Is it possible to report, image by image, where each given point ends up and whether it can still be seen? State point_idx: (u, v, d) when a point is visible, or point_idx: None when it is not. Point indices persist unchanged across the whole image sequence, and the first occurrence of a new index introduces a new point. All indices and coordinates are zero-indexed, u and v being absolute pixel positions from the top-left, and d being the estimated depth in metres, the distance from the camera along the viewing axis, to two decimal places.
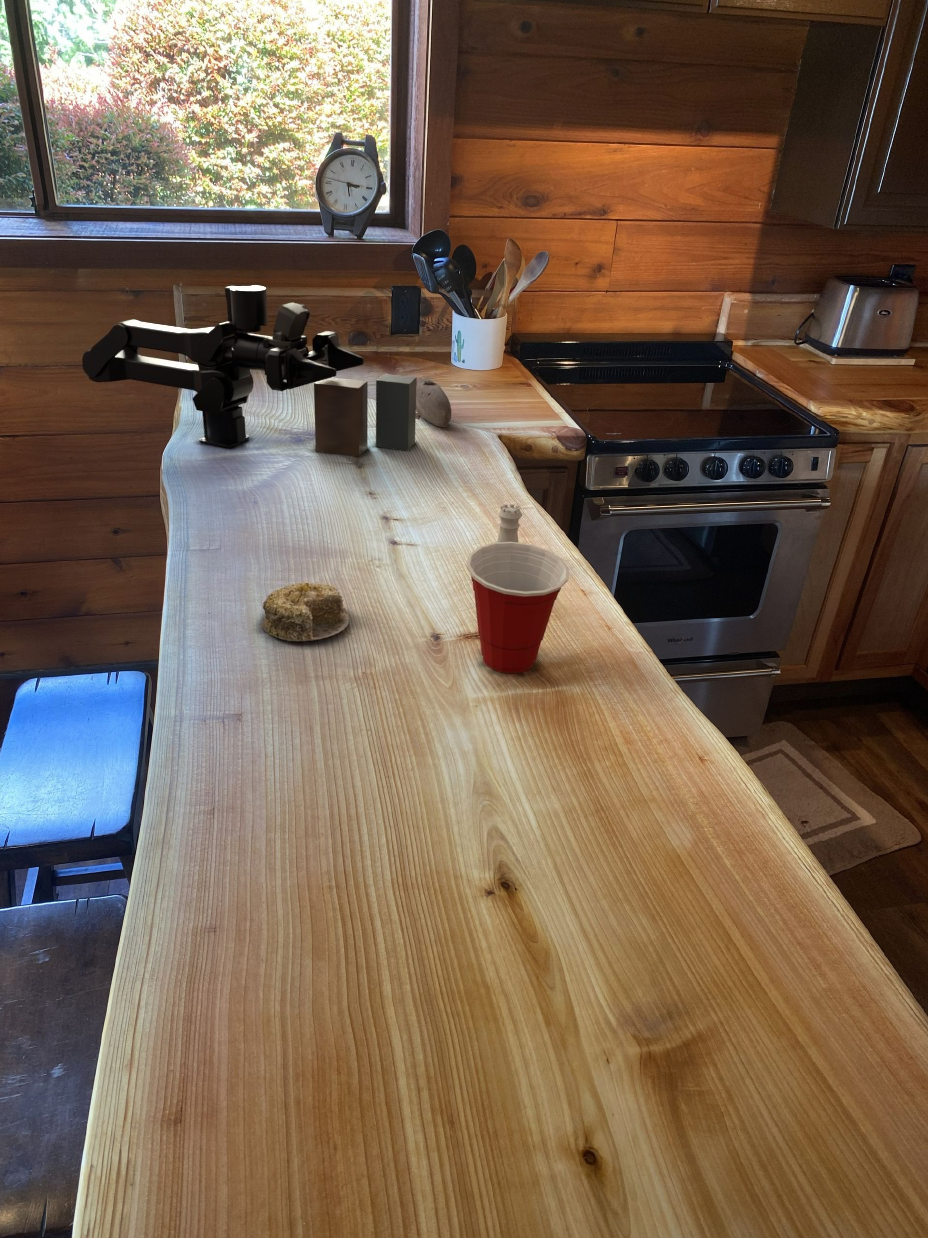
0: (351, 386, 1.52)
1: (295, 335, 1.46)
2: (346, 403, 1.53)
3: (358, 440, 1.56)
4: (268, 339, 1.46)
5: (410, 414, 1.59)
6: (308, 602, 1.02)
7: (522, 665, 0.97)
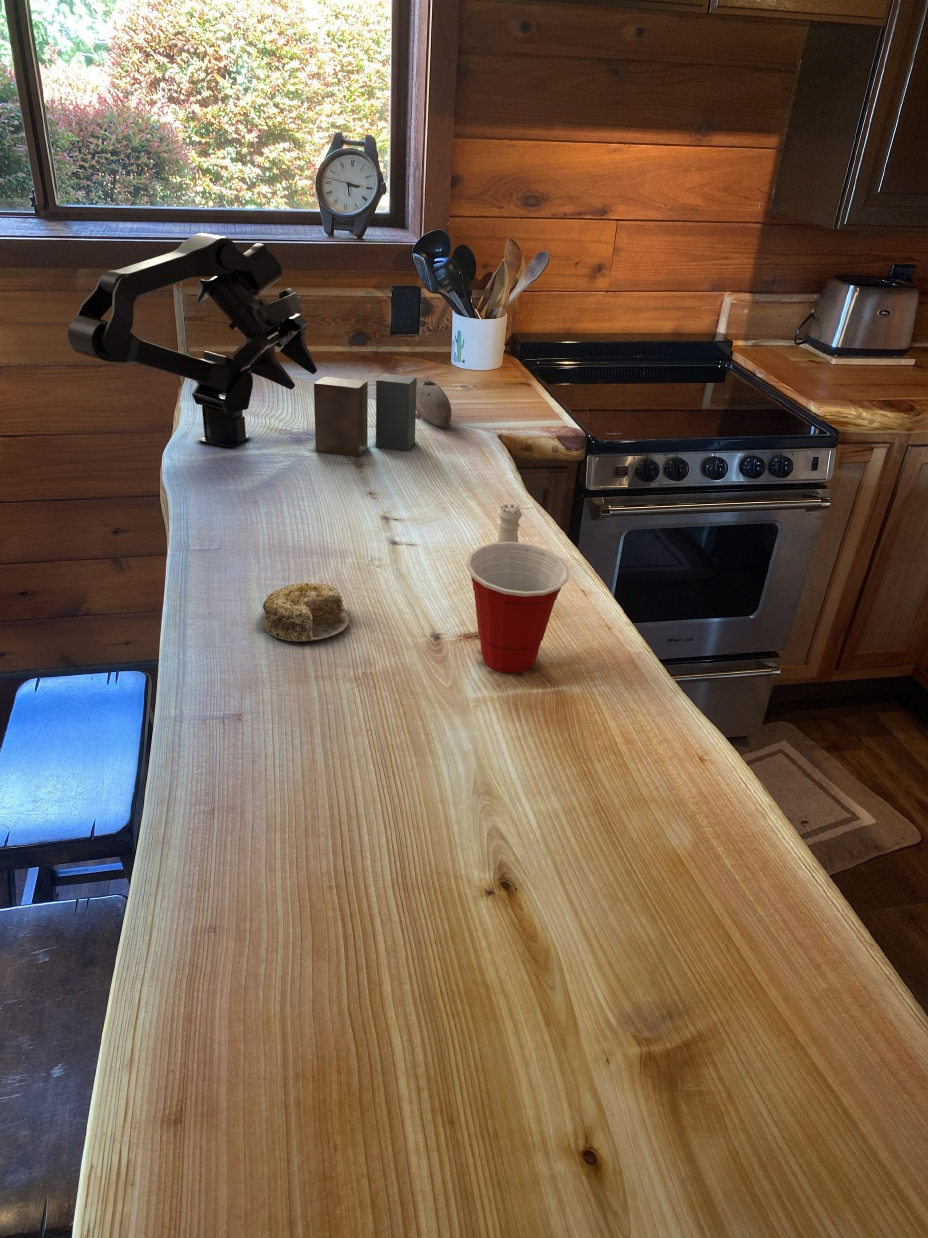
0: (351, 386, 1.52)
1: None
2: (346, 403, 1.53)
3: (358, 440, 1.56)
4: (253, 308, 1.49)
5: (410, 414, 1.59)
6: (308, 602, 1.02)
7: (522, 665, 0.97)
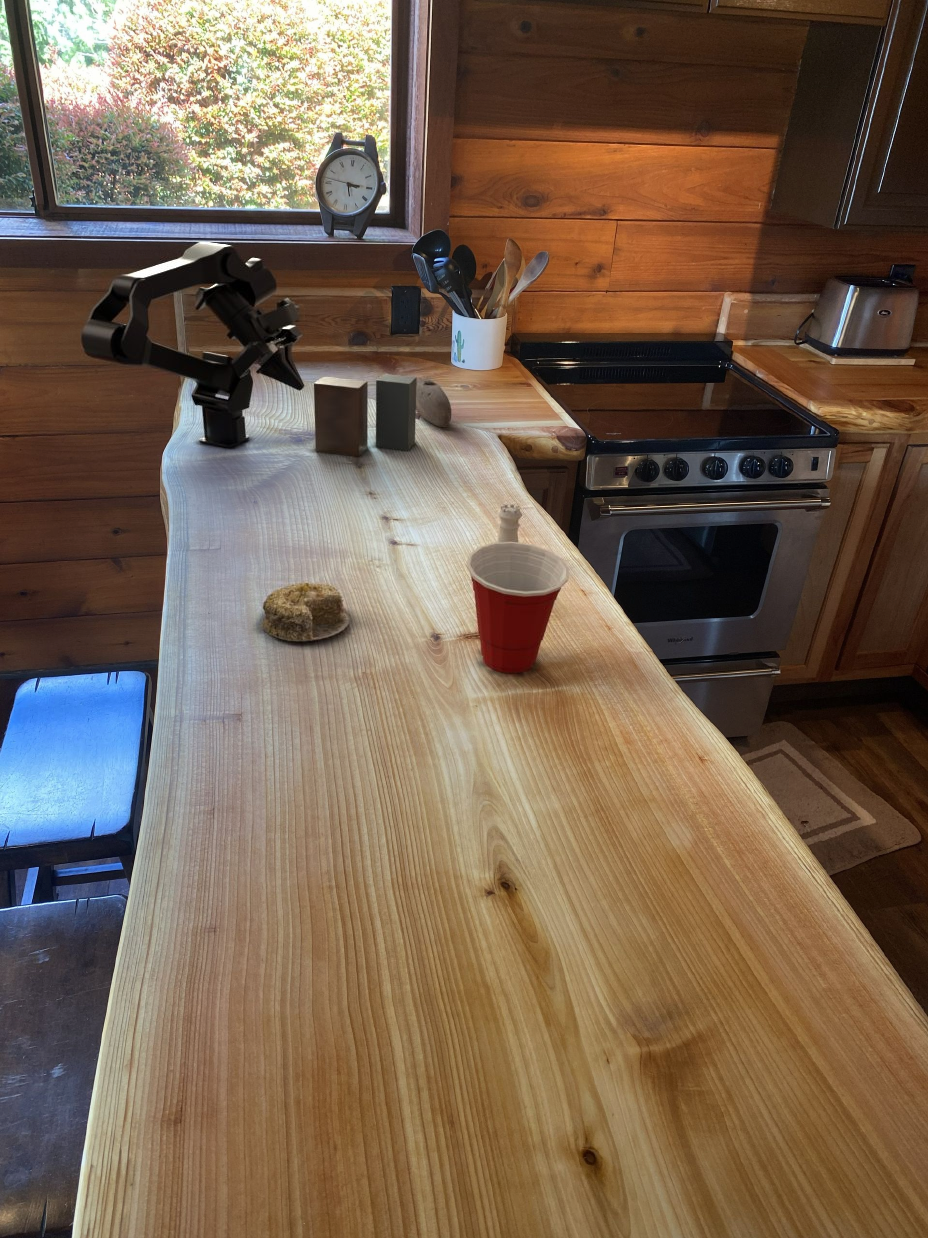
0: (351, 386, 1.52)
1: None
2: (346, 403, 1.53)
3: (358, 440, 1.56)
4: (252, 316, 1.49)
5: (410, 414, 1.59)
6: (308, 602, 1.02)
7: (522, 665, 0.97)
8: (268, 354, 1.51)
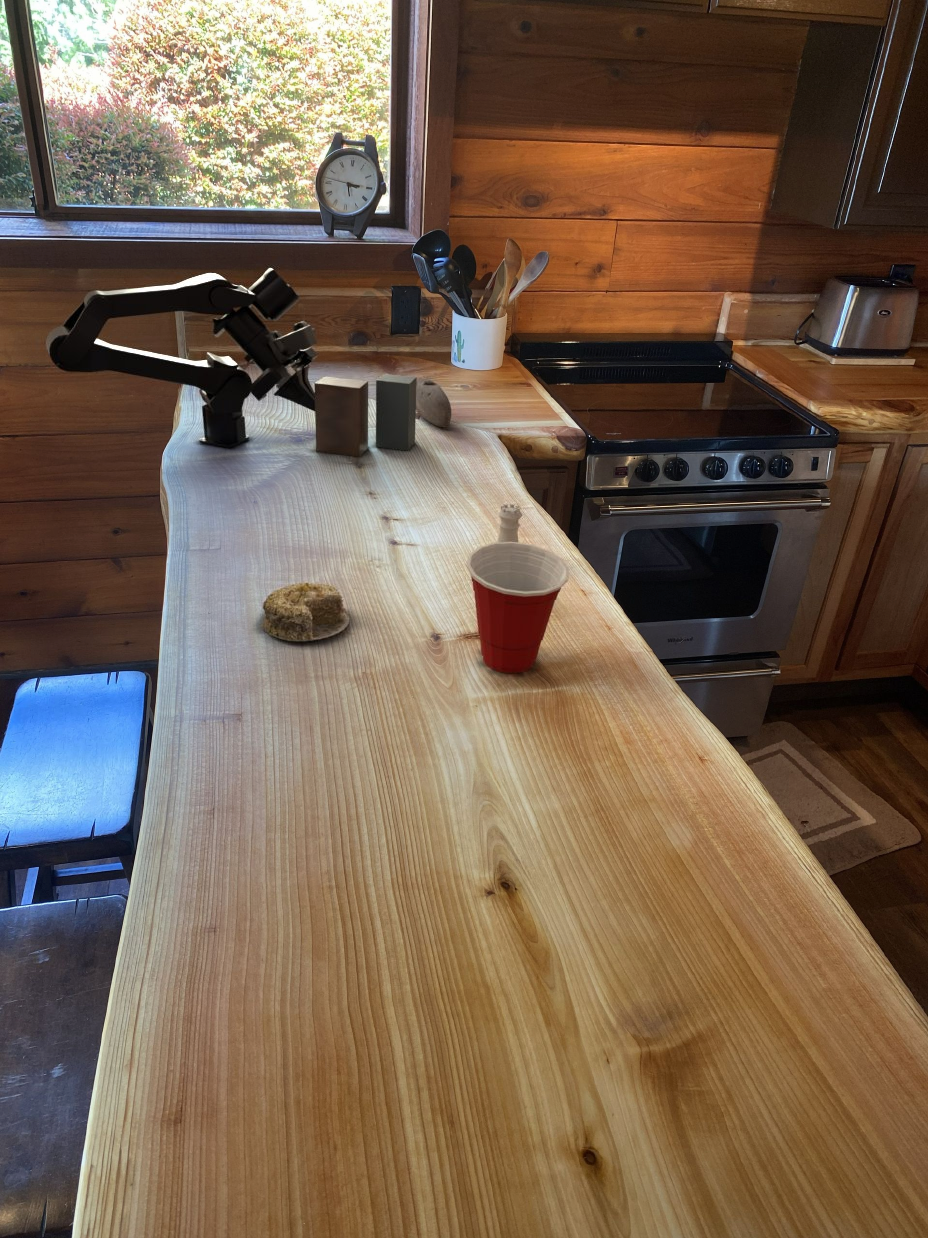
0: (352, 386, 1.52)
1: None
2: (346, 403, 1.53)
3: (358, 440, 1.56)
4: (270, 340, 1.51)
5: (410, 414, 1.59)
6: (308, 602, 1.02)
7: (522, 665, 0.97)
8: (286, 377, 1.52)
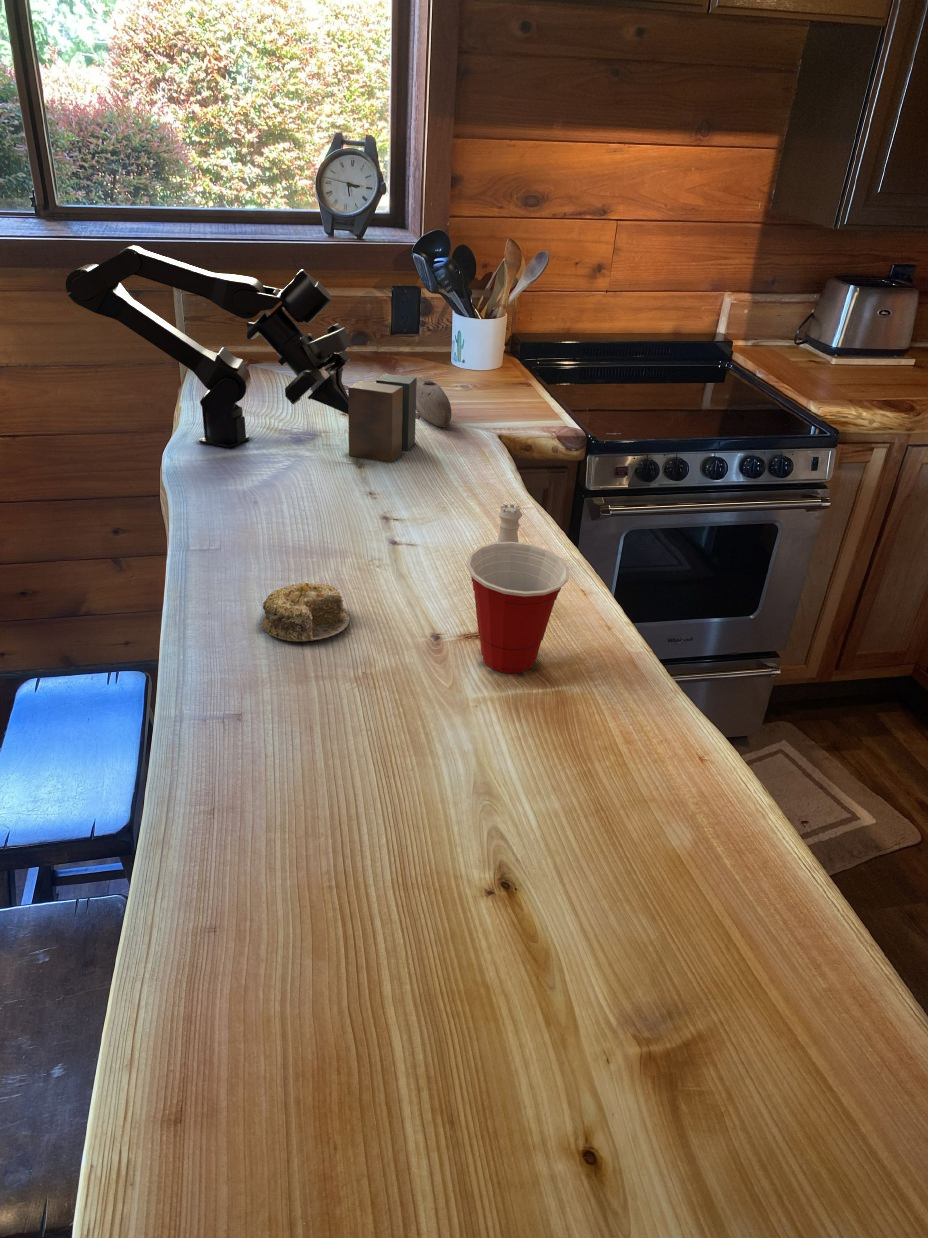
0: (385, 391, 1.50)
1: None
2: (379, 408, 1.51)
3: (391, 446, 1.54)
4: (304, 343, 1.50)
5: (410, 414, 1.59)
6: (308, 602, 1.02)
7: (522, 665, 0.97)
8: (320, 380, 1.51)
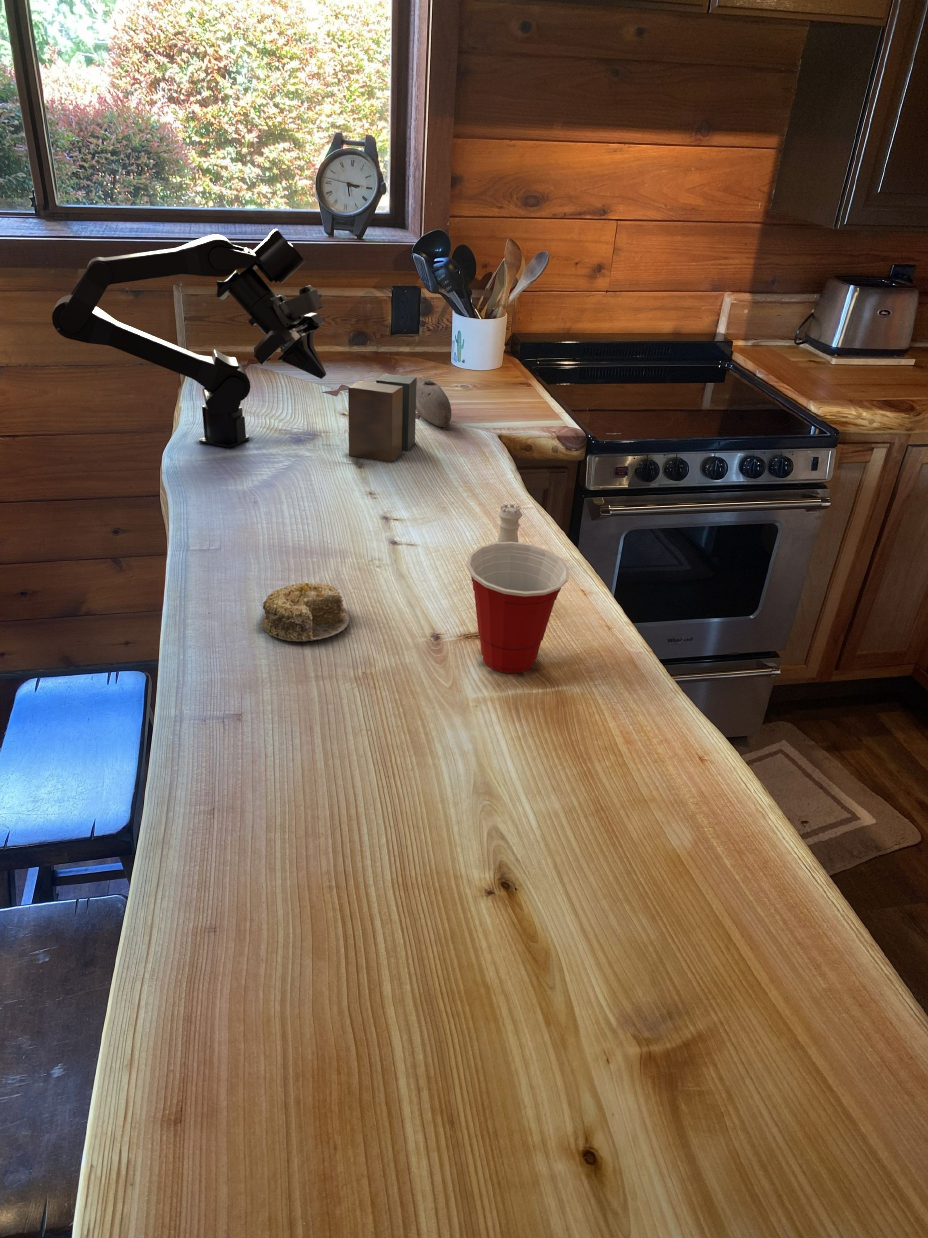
0: (385, 391, 1.50)
1: None
2: (379, 408, 1.51)
3: (391, 446, 1.54)
4: (274, 303, 1.47)
5: (410, 414, 1.59)
6: (308, 602, 1.02)
7: (522, 665, 0.97)
8: (290, 341, 1.49)
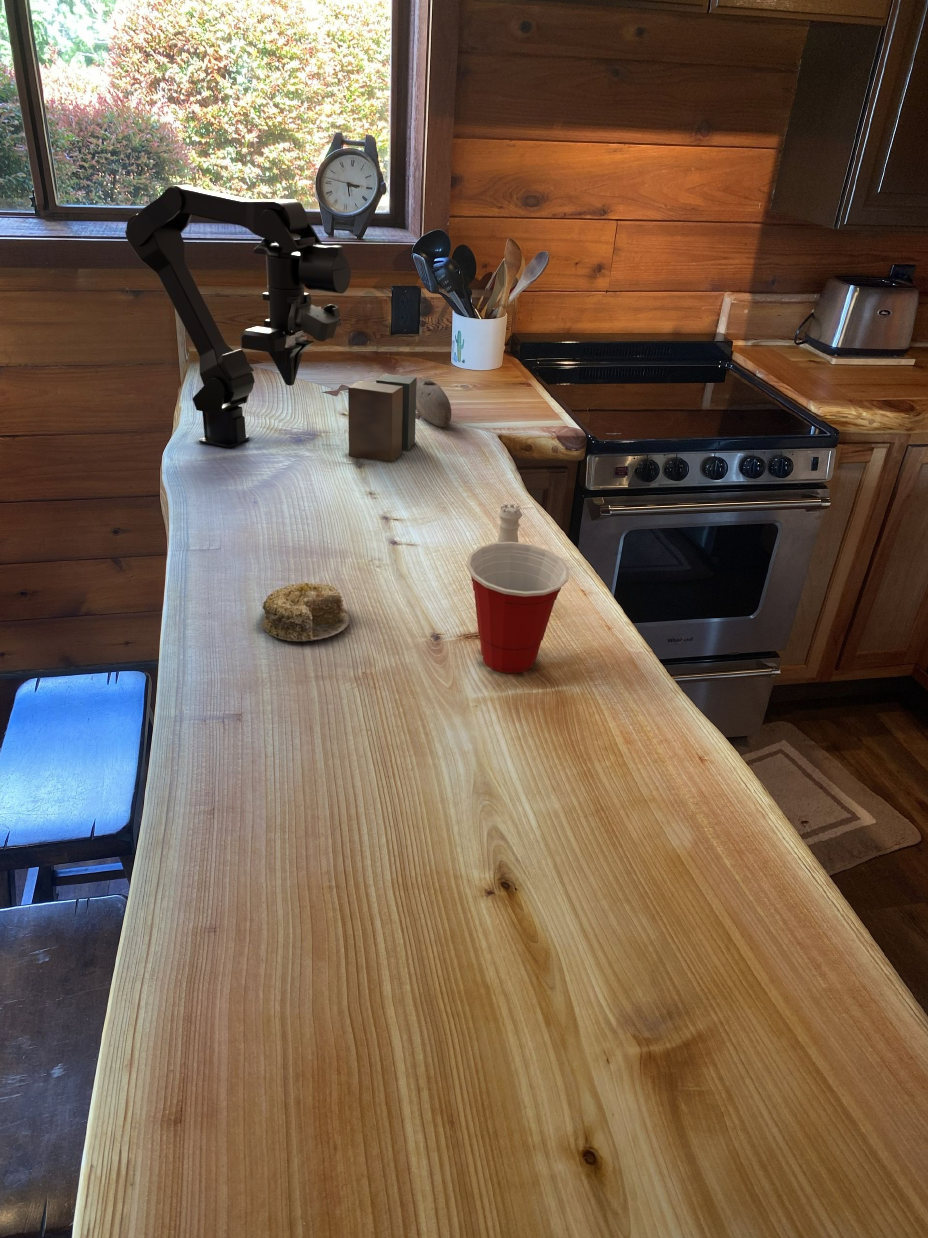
0: (385, 391, 1.50)
1: None
2: (379, 408, 1.51)
3: (391, 446, 1.54)
4: (294, 304, 1.41)
5: (410, 414, 1.59)
6: (308, 602, 1.02)
7: (522, 665, 0.97)
8: None
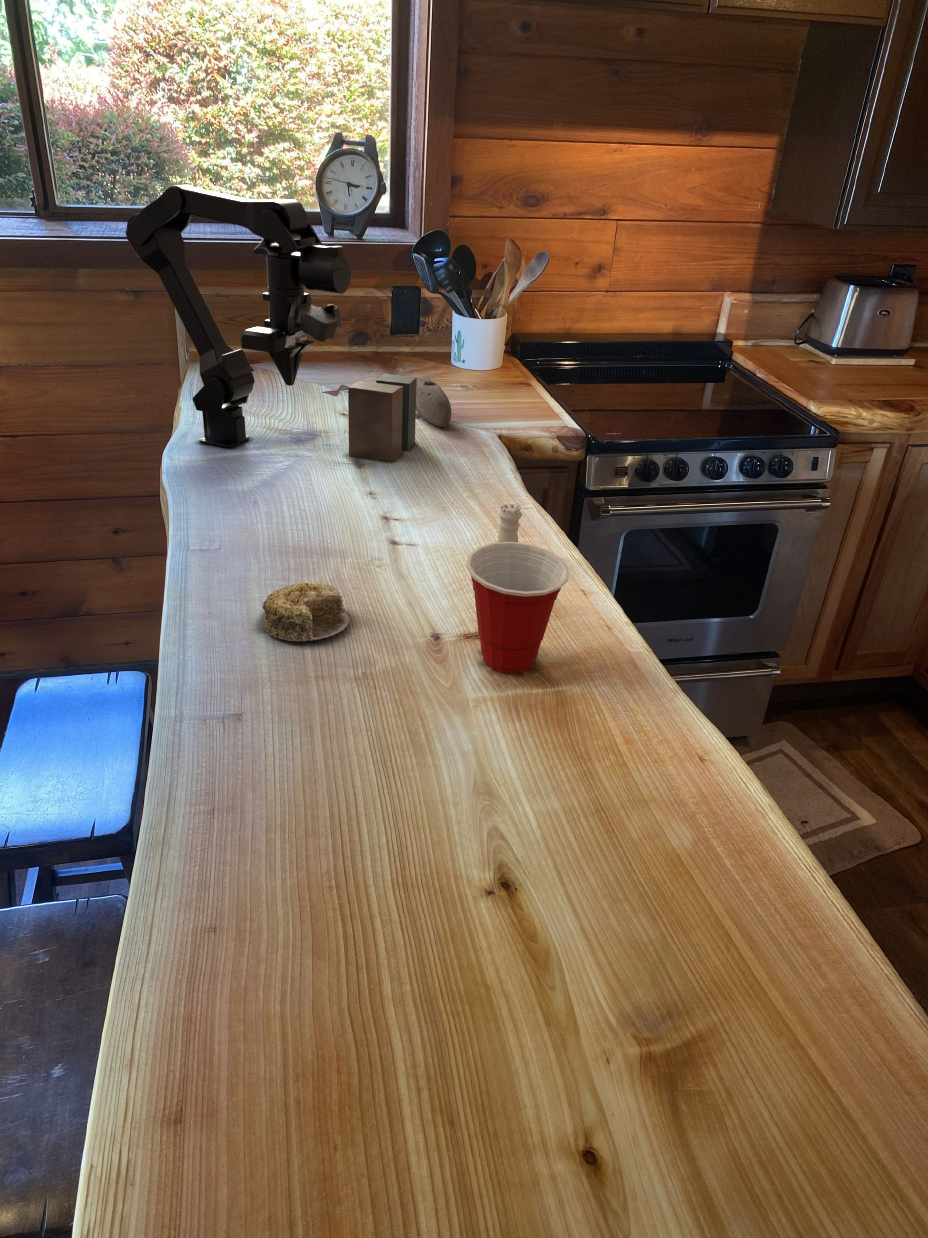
0: (385, 391, 1.50)
1: None
2: (379, 408, 1.51)
3: (391, 446, 1.54)
4: (294, 304, 1.41)
5: (410, 414, 1.59)
6: (308, 602, 1.02)
7: (522, 665, 0.97)
8: None
